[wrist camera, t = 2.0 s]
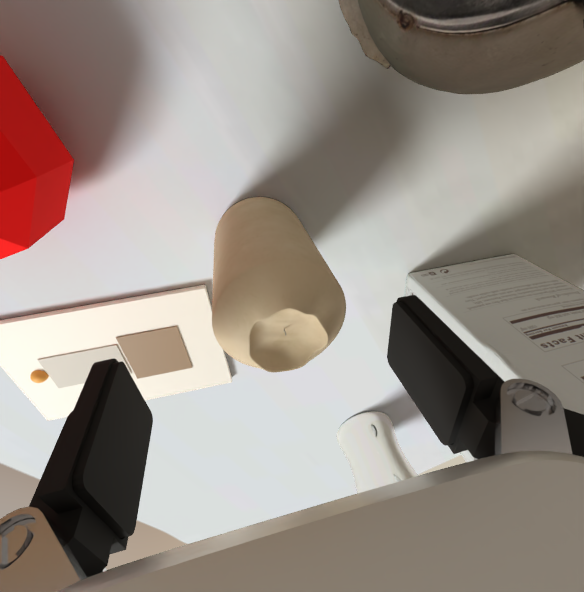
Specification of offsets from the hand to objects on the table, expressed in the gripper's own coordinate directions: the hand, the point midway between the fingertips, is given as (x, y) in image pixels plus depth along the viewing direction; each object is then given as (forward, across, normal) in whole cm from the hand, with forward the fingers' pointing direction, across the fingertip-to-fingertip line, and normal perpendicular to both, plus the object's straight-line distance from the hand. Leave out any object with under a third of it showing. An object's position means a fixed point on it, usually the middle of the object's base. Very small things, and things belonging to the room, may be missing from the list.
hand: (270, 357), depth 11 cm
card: (+11, +10, +7) cm, 16 cm away
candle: (+11, -1, 0) cm, 11 cm away
